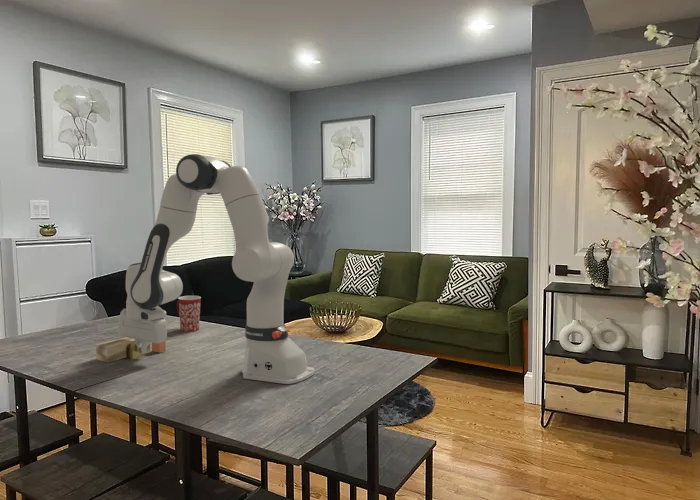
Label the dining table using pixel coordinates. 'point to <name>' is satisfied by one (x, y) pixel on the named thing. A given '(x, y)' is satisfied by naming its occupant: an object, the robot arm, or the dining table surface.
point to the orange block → (158, 347)
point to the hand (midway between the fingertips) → (142, 352)
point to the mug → (189, 313)
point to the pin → (133, 351)
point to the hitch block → (114, 349)
